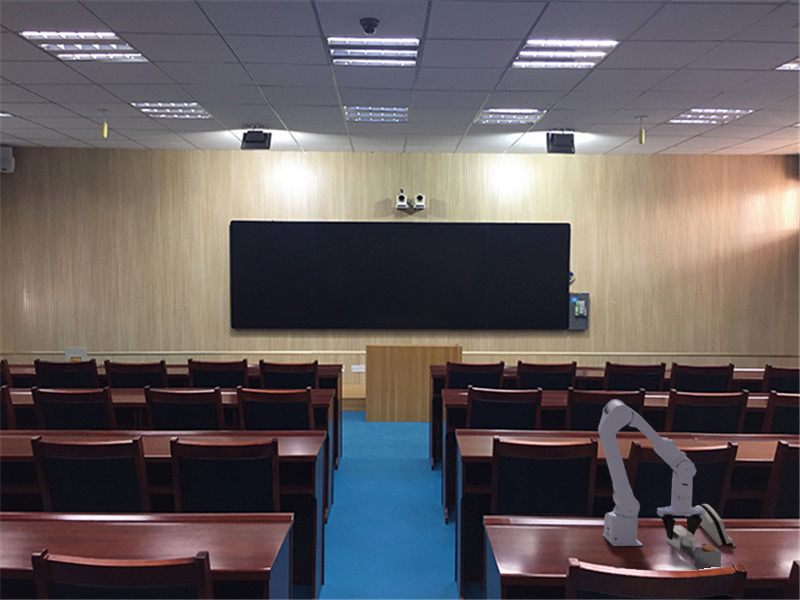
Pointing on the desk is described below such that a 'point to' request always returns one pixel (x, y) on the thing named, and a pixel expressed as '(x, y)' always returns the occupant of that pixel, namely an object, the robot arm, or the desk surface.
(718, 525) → the grey black curved block
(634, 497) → the robot arm
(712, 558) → the coupler
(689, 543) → the lock
